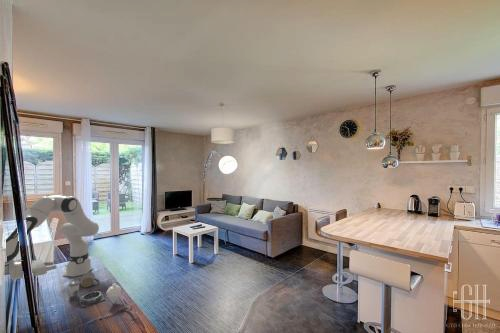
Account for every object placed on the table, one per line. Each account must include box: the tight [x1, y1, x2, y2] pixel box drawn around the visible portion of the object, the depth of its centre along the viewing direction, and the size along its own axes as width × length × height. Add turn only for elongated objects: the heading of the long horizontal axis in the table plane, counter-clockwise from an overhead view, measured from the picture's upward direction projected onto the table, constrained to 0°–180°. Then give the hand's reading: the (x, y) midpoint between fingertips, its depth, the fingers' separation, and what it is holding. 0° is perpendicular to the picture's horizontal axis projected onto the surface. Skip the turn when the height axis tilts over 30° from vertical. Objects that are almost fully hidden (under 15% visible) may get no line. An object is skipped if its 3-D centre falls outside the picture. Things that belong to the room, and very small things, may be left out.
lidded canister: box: [68, 279, 80, 302], centre depth 142 cm, size 5×5×10 cm
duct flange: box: [77, 290, 106, 309], centre depth 141 cm, size 12×12×3 cm
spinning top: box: [106, 283, 122, 304], centre depth 138 cm, size 8×8×12 cm
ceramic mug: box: [80, 271, 101, 289], centre depth 158 cm, size 11×8×8 cm
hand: (54, 265), depth 135 cm, fingers open, 8 cm apart
